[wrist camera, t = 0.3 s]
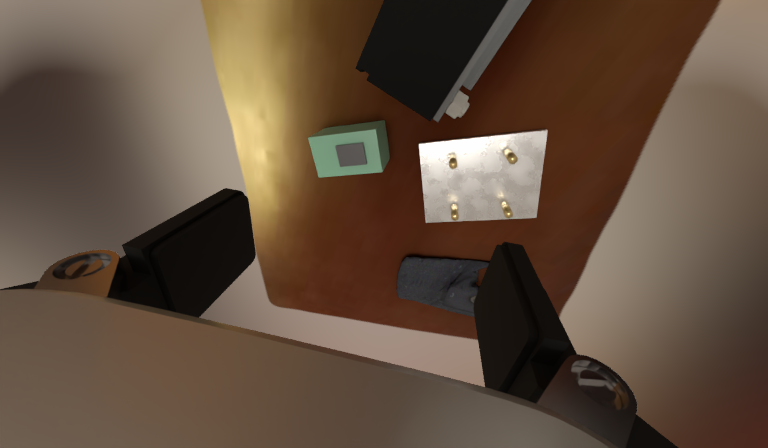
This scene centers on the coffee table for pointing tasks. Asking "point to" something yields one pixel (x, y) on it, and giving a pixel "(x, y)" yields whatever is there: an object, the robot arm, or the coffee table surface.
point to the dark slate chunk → (440, 282)
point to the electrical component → (435, 50)
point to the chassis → (483, 176)
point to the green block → (350, 149)
